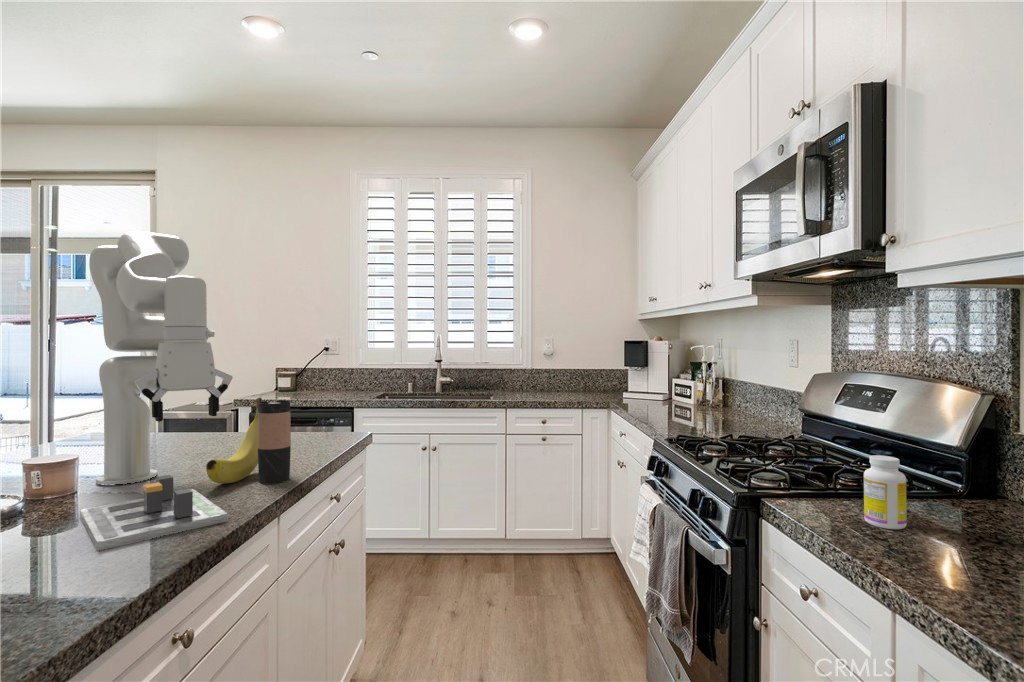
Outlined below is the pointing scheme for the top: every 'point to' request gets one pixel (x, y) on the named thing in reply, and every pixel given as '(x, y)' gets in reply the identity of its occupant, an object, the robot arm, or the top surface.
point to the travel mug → (274, 441)
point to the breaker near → (183, 503)
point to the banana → (238, 457)
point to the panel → (145, 521)
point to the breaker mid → (152, 497)
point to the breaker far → (166, 486)
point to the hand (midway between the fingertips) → (186, 418)
